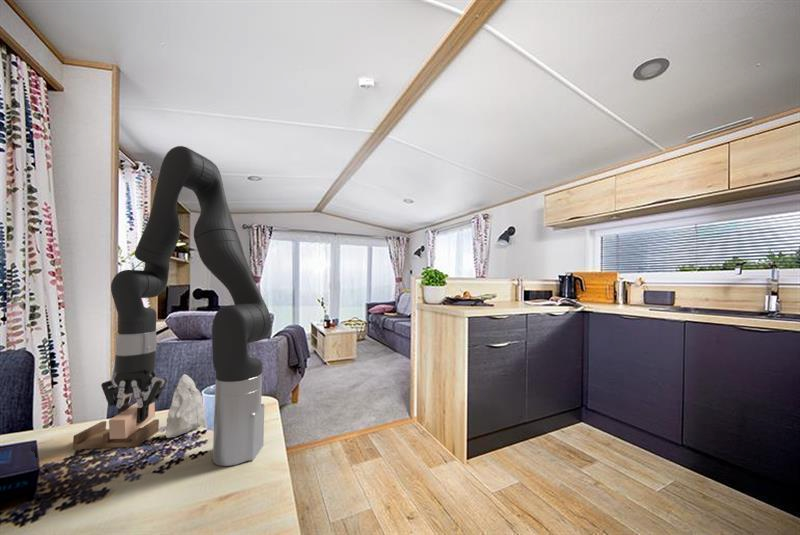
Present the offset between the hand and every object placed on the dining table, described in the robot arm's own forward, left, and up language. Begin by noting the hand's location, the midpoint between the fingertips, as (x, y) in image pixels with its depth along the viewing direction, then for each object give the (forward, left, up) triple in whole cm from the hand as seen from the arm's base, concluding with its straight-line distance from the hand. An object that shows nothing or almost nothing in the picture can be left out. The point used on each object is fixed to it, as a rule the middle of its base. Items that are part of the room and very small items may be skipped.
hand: (132, 421), depth 71 cm
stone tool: (-11, -2, -4) cm, 12 cm away
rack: (+3, 0, -4) cm, 5 cm away
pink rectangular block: (0, 0, -1) cm, 2 cm away
